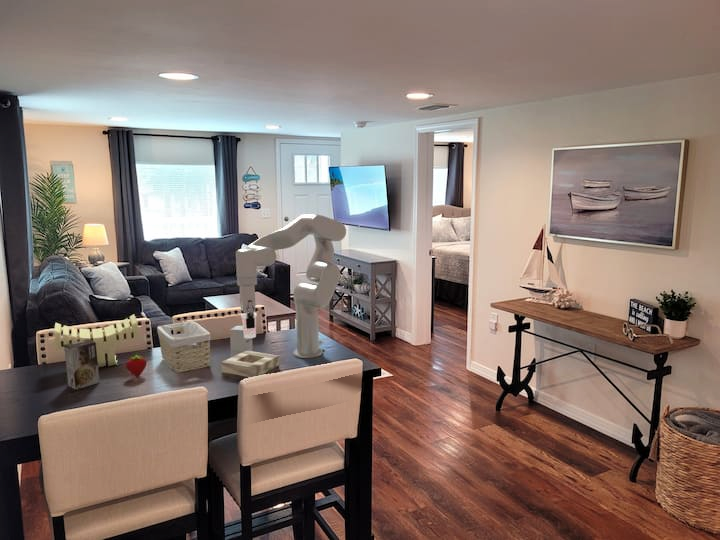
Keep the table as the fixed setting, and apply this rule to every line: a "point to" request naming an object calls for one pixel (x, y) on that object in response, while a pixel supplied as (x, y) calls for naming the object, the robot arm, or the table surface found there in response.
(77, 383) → the coffee box
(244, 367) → the socket block
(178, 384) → the table surface
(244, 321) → the beverage cup
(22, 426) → the table surface
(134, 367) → the strawberry
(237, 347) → the supplement box
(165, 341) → the storage basket
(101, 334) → the slatted curved stool
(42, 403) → the table surface
